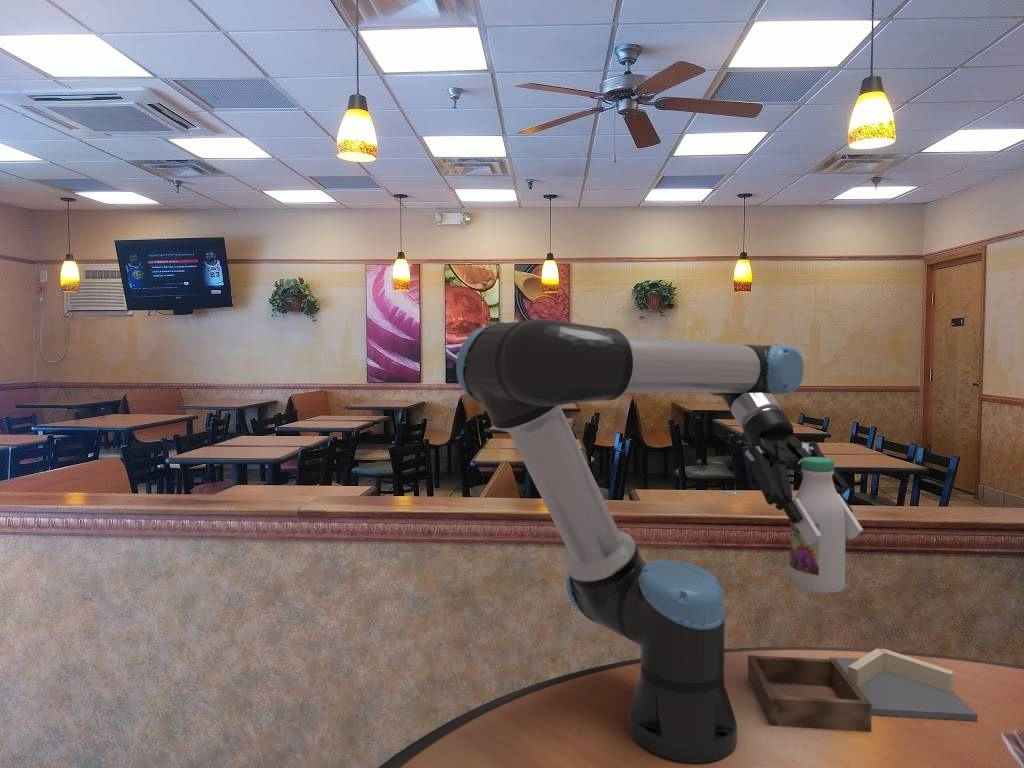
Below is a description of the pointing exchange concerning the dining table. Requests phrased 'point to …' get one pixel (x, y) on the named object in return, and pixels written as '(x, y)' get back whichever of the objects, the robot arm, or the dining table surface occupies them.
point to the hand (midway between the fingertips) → (835, 537)
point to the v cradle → (906, 686)
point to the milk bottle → (826, 556)
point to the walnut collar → (806, 710)
